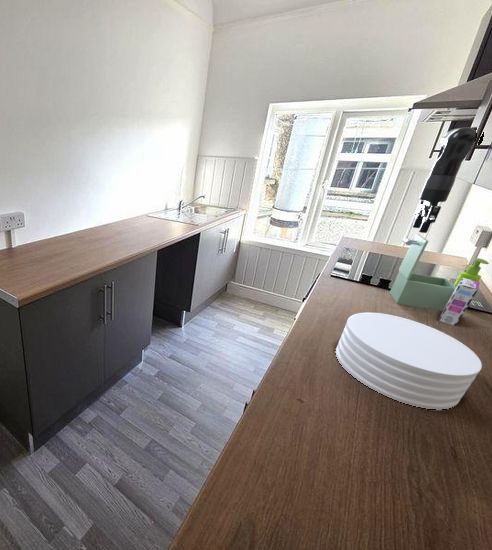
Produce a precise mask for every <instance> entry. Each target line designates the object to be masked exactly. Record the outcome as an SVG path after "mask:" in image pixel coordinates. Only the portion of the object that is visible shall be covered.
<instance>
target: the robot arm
mask: <svg viewBox="0 0 492 550" xmlns="http://www.w3.org/2000/svg"><path fill="white" fill-rule="evenodd" d="M477 127H478V126H472V127H471V126H470V127H468V126H467V127H466V126H465V127H459V128H458V127H457V128H454V129H451V130H449V131H447V132H446V133H444V135H443V136H442V138H441V139H440V145H441V147H443V150H442V153H441V155H440V156H439V157H438V158H437V159H436V160H435V161H434V162H433V166H432V168H431V169H430V172H429V175H428V176H427V178H426V180H425V183H424V185H423V187H422V190H421V191H420V195H419V197H418V199H419V200H420V201H419V203H418V205H417V208H416V210H415V212H414V216H415V217H414V218H415V219H414V221H413V224H412V226H411V227H412V228H414V229H418V232H419V233H422V234H427V233H428V231H429V229H430V227H431V224H434V223H436V220H437V218H438V215H439V213H440V212H441V209H442V206H441V205H439V203H445V202H446V201H447V200H448V198H449V195H450V193H451V191H452V189H453V187H454V185H455V182H456V178H457V175H458V173H459V171H460V168H461V166H462V164H463V162H464V161H465V159H466V157H467V156H468V155H469V154H470V151H471V150H472V148H471V146H472V145H473V143H474V142H475V141H476V138H477V133H476V130H477ZM483 137H484V132H483V134H482V136H481V137H480V140H479V142H478V145H480V144H481V143H482V141H483Z"/></svg>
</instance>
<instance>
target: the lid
mask: <svg viewBox="0 0 492 550" xmlns="http://www.w3.org/2000/svg"><path fill="white" fill-rule="evenodd" d="M401 241H402V242H403V243H404V244H405V245H406V246H409V248H408V249H407V252H406V253H405V256H404V258H403V260H402V262H401V264H400V266H399V268H398V272H399V271H400V272H401V273H402V274H403V275H404V277H405V278H406V279H408V280H409V279H410V277H411V275H412V273H414V271H415V270H416V268H417V265H418V263H419V261H420V259H421V257H422V255H423V254H424V252H425V250H426V247H427V245H428V244H429V242H430V241H429V240H428V239H426V238H425V237H423V236H422V235H420V234H419V233H415V235H414V237H413V239H410V238H408V237H407V236H406V237H403V238H402V239H401Z"/></svg>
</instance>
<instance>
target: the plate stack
mask: <svg viewBox="0 0 492 550" xmlns="http://www.w3.org/2000/svg"><path fill="white" fill-rule="evenodd" d="M335 350H336V351H334V354H335V353H336V355H335V358H336V357H337V358H336V360H337V359H338V361H339V362H338V361H337V362H338V364H339V363H340V364H341V365H342V366H341V365H340V364H339V365H340V366H341V368H342V367H343V368H344V369H345V370H346V371H347V372H348V373H349V374H351V375H352V376H353V377H354V378H356V379H357V380H358V381H360V382H361V383H363V384H364V385H366V386H368V387H369V388H371V389H373V390H375V391H377V392H378V393H377V392H376V393H377V394H379V393H381V394H383V395H385V396H387V397H389V398H392V399H394V400H397V401H399V402H398V403H400V402H402V403H401V404H403V403H405V404H404V405H406V404H409V405H412V406H411V407H413V406H416V407H415V408H417V407H421V408H426V409H425V410H427V409H436V410H435V411H443V410H442V409H447V410H450V409H449V408H451V409H453V408H455V407H456V406H458V404H459V403H460V402H461V399H462V398H463V397H464V396H465V394H466V392H467V390H469V388H470V387H471V385H472V384H473V382H474V381H475V379H476V378H477V375H478V374H479V373H480V371H482V368H483V363H482V361H481V359H480V358H479V356H478V355H477V354H476V353H475V352H474V351H473V349H470V348H469V347H468V346H467V345H465V343H464V344H463V343H462V342H461V341H460V340H458V339H456V338H454V337H453V336H451V335H449V334H446V333H445V332H443V331H441V330H438V329H436V328H434V327H432V326H429V325H427V324H423V323H420V322H419V321H415V320H412V319H408V318H405V317H401V316H397V315H392V314H387V313H382V312H371V311H370V312H369V311H368V312H357V313H354V314H352V315H350V316H349V317H348V318H347V320H346V323H345V326H344V328H343V331H342V333H341V335H340V338H339V340H338V343H337V345H336V348H335ZM343 368H342V369H343ZM344 369H343V370H344ZM345 370H344V371H345ZM346 371H345V372H346ZM347 372H346V373H347ZM348 373H347V374H348ZM349 374H348V375H349ZM351 375H350V376H351ZM352 376H351V377H352ZM353 377H352V378H353ZM354 378H353V379H354ZM356 379H355V380H356ZM357 380H356V381H357ZM358 381H357V382H358ZM360 382H359V383H360ZM361 383H360V384H361ZM363 384H362V385H363ZM364 385H363V386H364ZM366 386H365V387H366ZM368 387H367V388H368ZM369 388H368V389H369ZM371 389H370V390H371ZM373 390H372V391H373ZM375 391H374V392H375ZM381 394H380V395H381ZM383 395H382V396H383ZM385 396H384V397H385ZM387 397H386V398H387ZM389 398H388V399H389ZM392 399H391V400H392ZM394 400H393V401H394ZM397 401H396V402H397ZM409 405H408V406H409ZM454 406H455V407H454ZM452 407H453V408H452ZM421 408H420V409H421Z"/></svg>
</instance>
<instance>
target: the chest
mask: <svg viewBox="0 0 492 550" xmlns="http://www.w3.org/2000/svg"><path fill="white" fill-rule="evenodd" d="M455 289H456V287H455V286H454V283H452V282H451V281H450V280H448V279H447V278H444V277H439V276H432V275H427V274H420V273H414V272H413V273H412V275H411V277H410V279H409V280H408V279H406V278H405V277H404V275H403V274H402V273H401V272H400V271H399V270H398V273H397V275H396V278H395V280H394V282H393V284H392V286H391V288H390V290H389V294H390V296H391V297H392V298H393V301H395V303H396V304H397V305H402V306H407V307H413V308H416V309H417V308H418V309H422V310H429V309H430V310H434V311H440V312H442V311H443V310H444V308H445V306H446V304H447V303H448V301H449V299H450V297H451V296H452V294H453V292H454V291H455Z"/></svg>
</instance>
